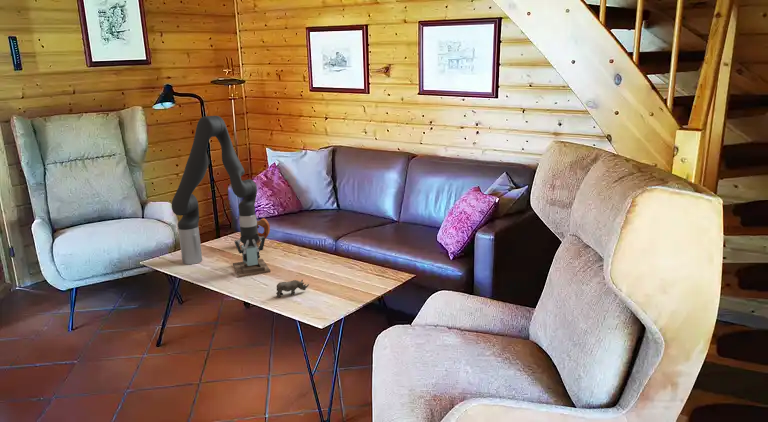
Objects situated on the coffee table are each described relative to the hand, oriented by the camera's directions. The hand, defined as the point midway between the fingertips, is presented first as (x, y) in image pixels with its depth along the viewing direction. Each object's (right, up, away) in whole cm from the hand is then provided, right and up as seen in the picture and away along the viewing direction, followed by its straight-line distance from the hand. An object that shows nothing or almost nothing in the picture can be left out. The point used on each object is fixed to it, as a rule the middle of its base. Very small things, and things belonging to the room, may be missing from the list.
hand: (251, 260), depth 260 cm
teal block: (0, -2, 0) cm, 2 cm away
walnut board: (-1, -4, +4) cm, 6 cm away
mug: (-5, +4, +37) cm, 37 cm away
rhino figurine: (+23, -12, -26) cm, 37 cm away
